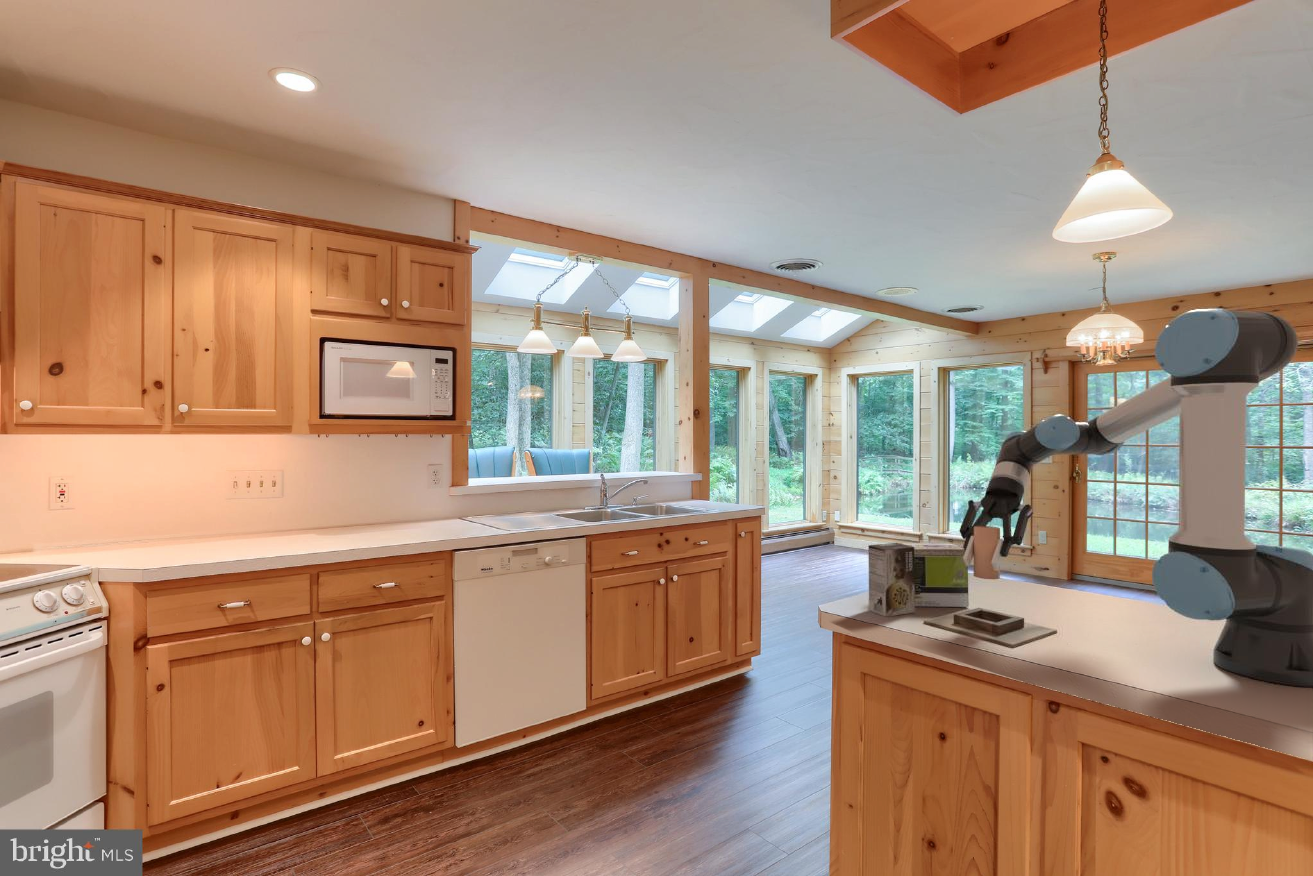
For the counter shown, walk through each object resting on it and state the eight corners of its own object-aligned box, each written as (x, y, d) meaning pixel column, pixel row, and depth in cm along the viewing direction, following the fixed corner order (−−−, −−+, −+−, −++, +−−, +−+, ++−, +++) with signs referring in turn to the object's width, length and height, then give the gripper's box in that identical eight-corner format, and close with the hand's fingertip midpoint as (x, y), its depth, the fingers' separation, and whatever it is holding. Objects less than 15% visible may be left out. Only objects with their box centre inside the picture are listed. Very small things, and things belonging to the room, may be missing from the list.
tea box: (954, 598, 166) (954, 542, 166) (969, 608, 156) (969, 549, 156) (895, 597, 167) (895, 541, 167) (906, 607, 157) (906, 548, 157)
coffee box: (896, 606, 157) (896, 542, 157) (915, 613, 151) (916, 546, 151) (867, 610, 154) (867, 544, 154) (885, 617, 148) (885, 548, 148)
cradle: (1056, 632, 136) (1056, 620, 136) (1012, 647, 126) (1012, 634, 126) (968, 611, 153) (968, 600, 153) (923, 623, 143) (923, 611, 143)
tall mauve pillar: (1004, 577, 140) (1004, 528, 140) (991, 580, 137) (992, 530, 137) (981, 573, 144) (981, 525, 144) (968, 575, 141) (969, 527, 141)
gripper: (1054, 499, 144) (1030, 581, 133) (971, 493, 157) (943, 568, 146) (1047, 477, 140) (1022, 560, 129) (962, 473, 154) (933, 548, 143)
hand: (980, 564), depth 138 cm, fingers closed on tall mauve pillar, 5 cm apart
